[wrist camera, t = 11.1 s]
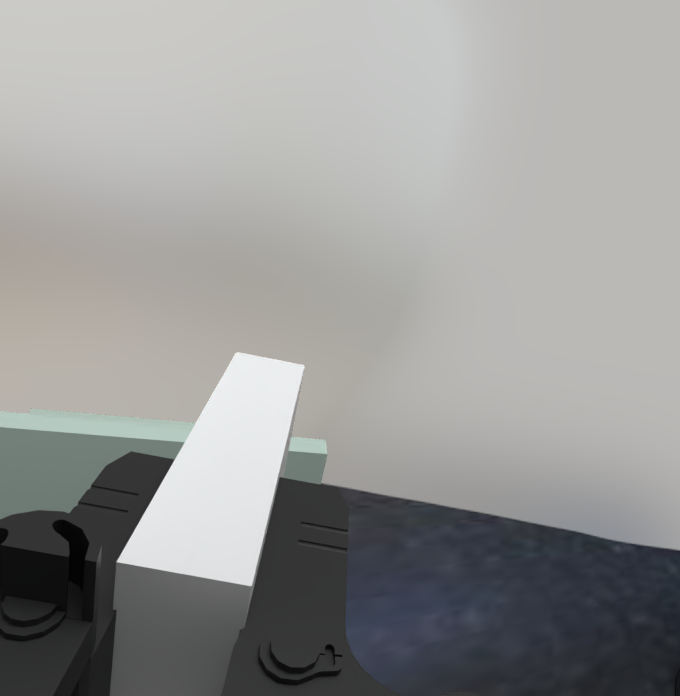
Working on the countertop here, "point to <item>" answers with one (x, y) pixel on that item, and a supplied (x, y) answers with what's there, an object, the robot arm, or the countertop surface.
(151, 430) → the grey-green angled piece
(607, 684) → the countertop surface
